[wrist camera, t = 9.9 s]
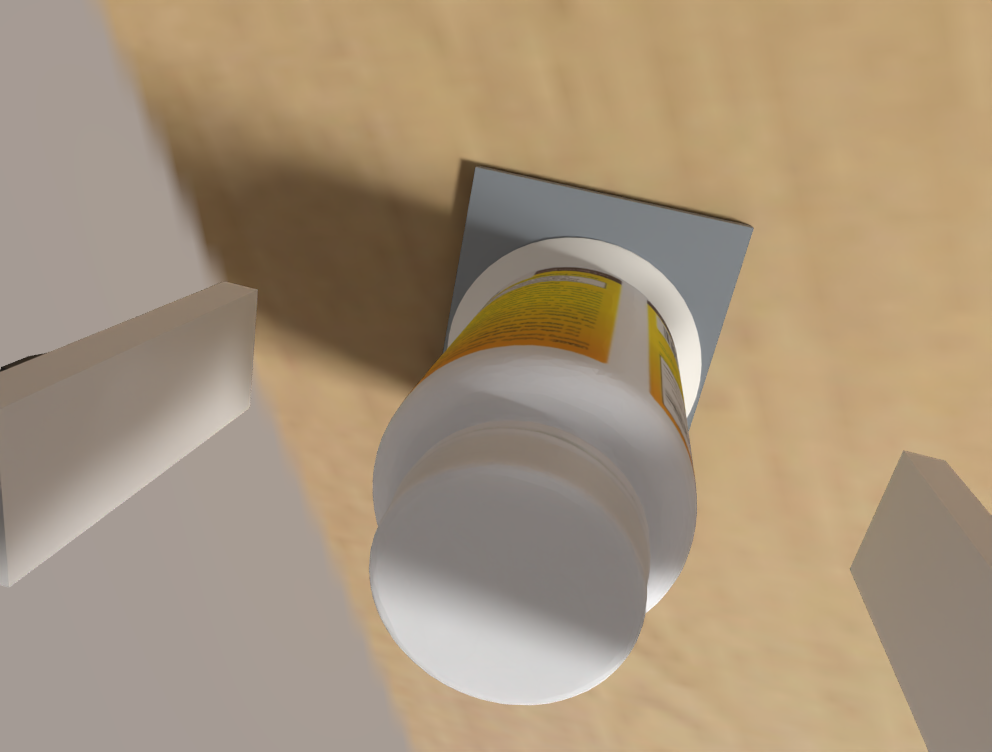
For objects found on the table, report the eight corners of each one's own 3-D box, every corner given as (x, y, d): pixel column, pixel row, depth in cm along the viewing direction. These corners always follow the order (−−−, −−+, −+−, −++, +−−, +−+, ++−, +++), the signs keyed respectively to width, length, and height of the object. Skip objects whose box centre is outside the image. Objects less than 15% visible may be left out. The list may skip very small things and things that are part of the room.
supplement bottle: (430, 367, 20) (241, 580, 11) (563, 215, 18) (473, 315, 9) (578, 496, 21) (521, 810, 11) (725, 361, 19) (805, 607, 9)
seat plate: (479, 165, 19) (474, 167, 18) (750, 225, 18) (754, 228, 18) (426, 468, 22) (420, 476, 22) (654, 529, 21) (654, 540, 21)
